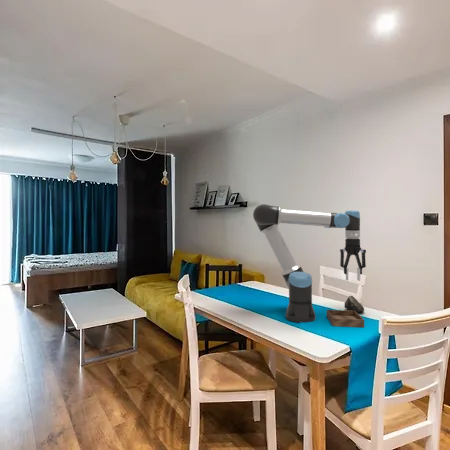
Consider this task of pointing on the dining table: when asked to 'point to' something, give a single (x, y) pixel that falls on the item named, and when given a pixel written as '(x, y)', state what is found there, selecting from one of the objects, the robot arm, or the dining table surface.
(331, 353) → the dining table surface
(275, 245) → the robot arm
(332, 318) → the walnut tray
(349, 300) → the fossil
